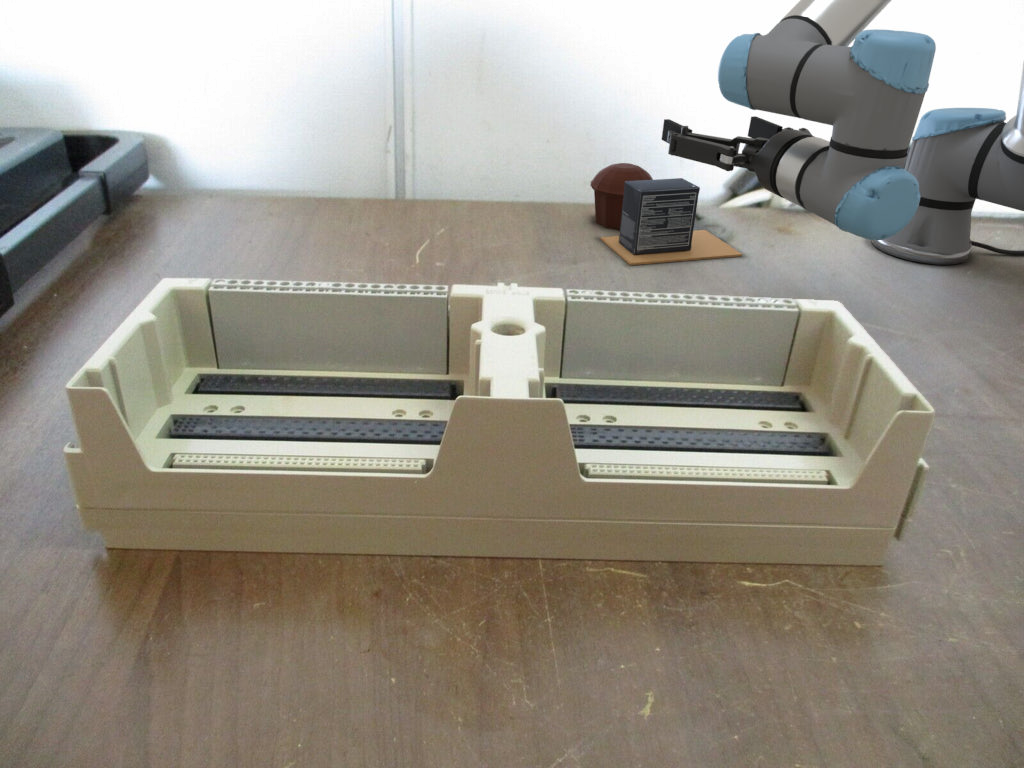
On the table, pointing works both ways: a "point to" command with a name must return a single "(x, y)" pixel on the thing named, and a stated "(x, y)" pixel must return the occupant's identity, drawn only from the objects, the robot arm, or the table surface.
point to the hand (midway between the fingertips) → (709, 127)
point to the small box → (658, 215)
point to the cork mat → (701, 249)
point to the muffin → (614, 191)
